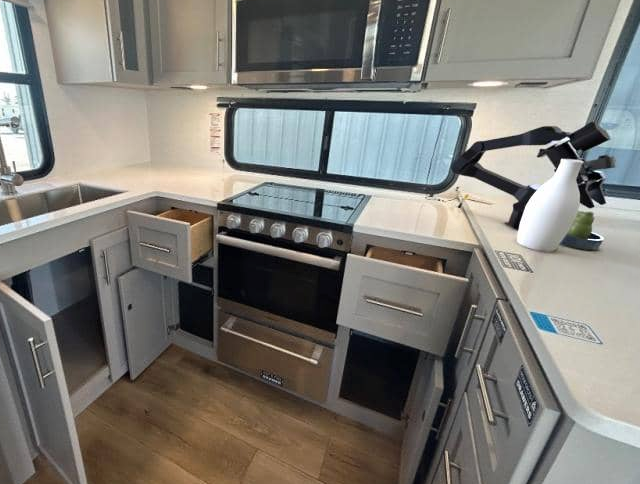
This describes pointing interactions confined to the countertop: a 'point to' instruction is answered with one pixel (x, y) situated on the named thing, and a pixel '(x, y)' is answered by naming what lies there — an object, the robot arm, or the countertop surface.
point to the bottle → (551, 209)
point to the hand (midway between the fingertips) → (598, 206)
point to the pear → (582, 225)
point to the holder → (583, 242)
